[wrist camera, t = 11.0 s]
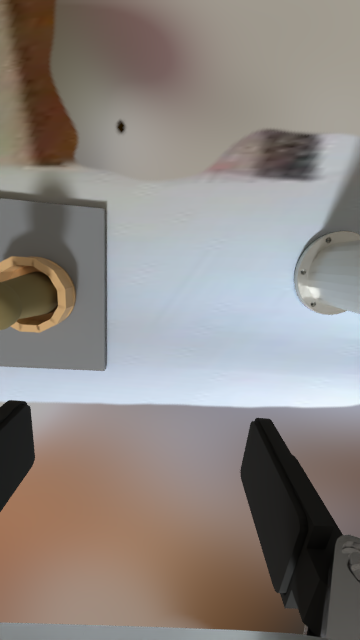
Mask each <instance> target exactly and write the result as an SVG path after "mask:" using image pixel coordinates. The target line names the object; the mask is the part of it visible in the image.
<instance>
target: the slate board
mask: <svg viewBox="0 0 360 640" xmlns="http://www.w3.org/2000/svg"><path fill="white" fill-rule="evenodd" d="M11 256H18V257H42V258H46V259H49V260H51V261H53V262H55V263H57V264H58V265H60V266H61V267H62V268H63V269H64V270H65V271H66V272H67V273H68V274H69V276H70V277H71V279H72V281H73V283H74V286H75V290H76V302H75V306H74V309H73V311H72V312H71V314H70V315H69V316H68V317H67V318H66V319H65V320H64V321H62V322H60V323H58V324H57V325H54V326H52V327H50V328H48V329H46V330H44V331H42V332H40V333H38V332H21V331H18V330H16V329H14V328H12V327H11V326H10V327H8V328H6V329H4V330H0V366H5V367H27V368H50V369H73V370H96V371H105V369H106V210H105V209H102V208H92V207H83V206H73V205H63V204H53V203H43V202H33V201H24V200H14V199H4V198H0V262H2V261H4V260H6V259H8V258H9V257H11Z"/></svg>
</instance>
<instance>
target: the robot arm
mask: <svg viewBox="0 0 360 640" xmlns="http://www.w3.org/2000/svg"><path fill="white" fill-rule="evenodd" d="M294 284H295V290H296V293H297V296H298V298H299V299H300V301H301V302H302V303H303V304H304V305H305V306H306V307H307V308H308V309H310V310H312V311H314V312H317V313H320V314H325V315H333V314H339V313H343V312H345V311H351V312H354V313H358V314H360V235H359V234H357V233H355V232H350V231H339V232H333V233H329V234H326V235H324V236H322V237H320V238H318V239H317V240H315V241H314V242H313V243H312V244H310V245H309V247H308V248H307V249H306V250H305V251H304V253H303V254H302V256H301V257H300V259H299V261H298V264H297V266H296V270H295V276H294ZM34 459H35V453H34V442H33V431H32V420H31V409H30V406H28V405H27V403H26V402H25V401H13V400H10V401H7V402H6V403H5V404H3V405H2V406H1V407H0V512H1V510H2V509H3V507H4V506H5V505H6V503H7V502H8V500H9V498H10V497H11V496H12V494H13V493H14V491H15V490H16V488H17V487H18V486H19V484H20V483H21V482H22V480H23V478H24V477H25V476H26V474H27V473H28V471H29V470H30V469H31V467H32V465H33V463H34ZM241 479H242V483H243V486H244V490H245V493H246V497H247V500H248V503H249V506H250V510H251V513H252V517H253V520H254V523H255V527H256V530H257V534H258V537H259V540H260V544H261V546H262V550H263V554H264V557H265V560H266V563H267V567H268V570H269V574H270V577H271V580H272V584H273V586H274V589H275V591H276V592H277V593H280V594H281V597H282V601H283V604H284V607H285V608H297V609H299V613H300V615H301V618H302V621H303V623H304V624H305V629H304V635H300V634H290V633H273V632H258V631H242V630H217V629H191V628H164V627H163V628H162V627H134V626H101V625H69V624H68V625H66V624H34V623H33V624H32V623H0V640H360V538H358V537H355V536H351V535H343V534H342V533H341V531H340V530H339V528H338V526H337V525H336V523H335V521H334V520H333V518H332V516H331V515H330V513H329V511H328V510H327V508H326V506H325V505H324V503H323V501H322V500H321V498H320V497H319V495H318V493H317V492H316V490H315V488H314V487H313V485H312V483H311V482H310V480H309V479H308V477H307V475H306V473H305V472H304V470H303V468H302V467H301V466H300V464H299V462H298V460H297V459H296V458H295V457H294V456H293V455H292V454H291V453H290V451H289V449H288V448H287V446H286V444H285V442H284V441H283V439H282V438H281V436H280V434H279V432H278V431H277V429H276V427H275V426H274V424H273V422H272V421H271V420H270V419H263V418H256V419H255V421H252V422H251V425H250V429H249V434H248V438H247V443H246V448H245V452H244V457H243V461H242V466H241Z"/></svg>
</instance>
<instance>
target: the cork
mask: <svg viewBox="0 0 360 640" xmlns="http://www.w3.org/2000/svg"><path fill="white" fill-rule="evenodd" d="M57 307H58V295H57V289H56V288H55V286H54V284H53V283H52V281H51V280H50V278H49V277H48V275H46V274H44V273H43V272H36V271H35V272H31V273H28V274H25V275H22V276H19V277H16V278H12V279H9V280H6V281H3V282H0V330H4V329H6V328H8V327H10V326H11V325H13V324H14V323H15V322H16V321H17V320H18V319H22V318H28V317H33V316H38V315H43V314H48V313H52V312H54V311H55V310H56V309H57Z"/></svg>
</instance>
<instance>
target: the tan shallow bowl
mask: <svg viewBox="0 0 360 640" xmlns="http://www.w3.org/2000/svg"><path fill="white" fill-rule="evenodd" d="M35 271H36V272H43V273H44V274H46V275H48V277H49V278H50V280H51V281H52V283H53V284H54V286H55V288H56V289H57V295H58V307H57V309H56V310H55V311H54V312H52V313H48V314H43V315H38V316H33V317H28V318H22V319H18V320H17V321H16V322H15V323H14V324H13V325H11V327H12V328H14V329H16V330H18V331H21V332H38V333H40V332H42V331H44V330H46V329H48V328H50V327H52V326H54V325H57V324H58V323H60V322H62V321H64V320H65V319H66V318H67V317H68V316H69V315H70V314H71V312H72V311H73V309H74V306H75V302H76V290H75V286H74V283H73V281H72V279H71V277H70V276H69V274H68V273H67V272H66V271H65V270H64V269H63V268H62V267H61V266H60V265H58V264H57V263H55V262H53V261H51V260H49V259H46V258H42V257H18V256H11V257H9V258H8V259H6V260H4V261H2V262H0V282H3V281H6V280H9V279H12V278H16V277H19V276H22V275H25V274H28V273H31V272H35Z"/></svg>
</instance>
